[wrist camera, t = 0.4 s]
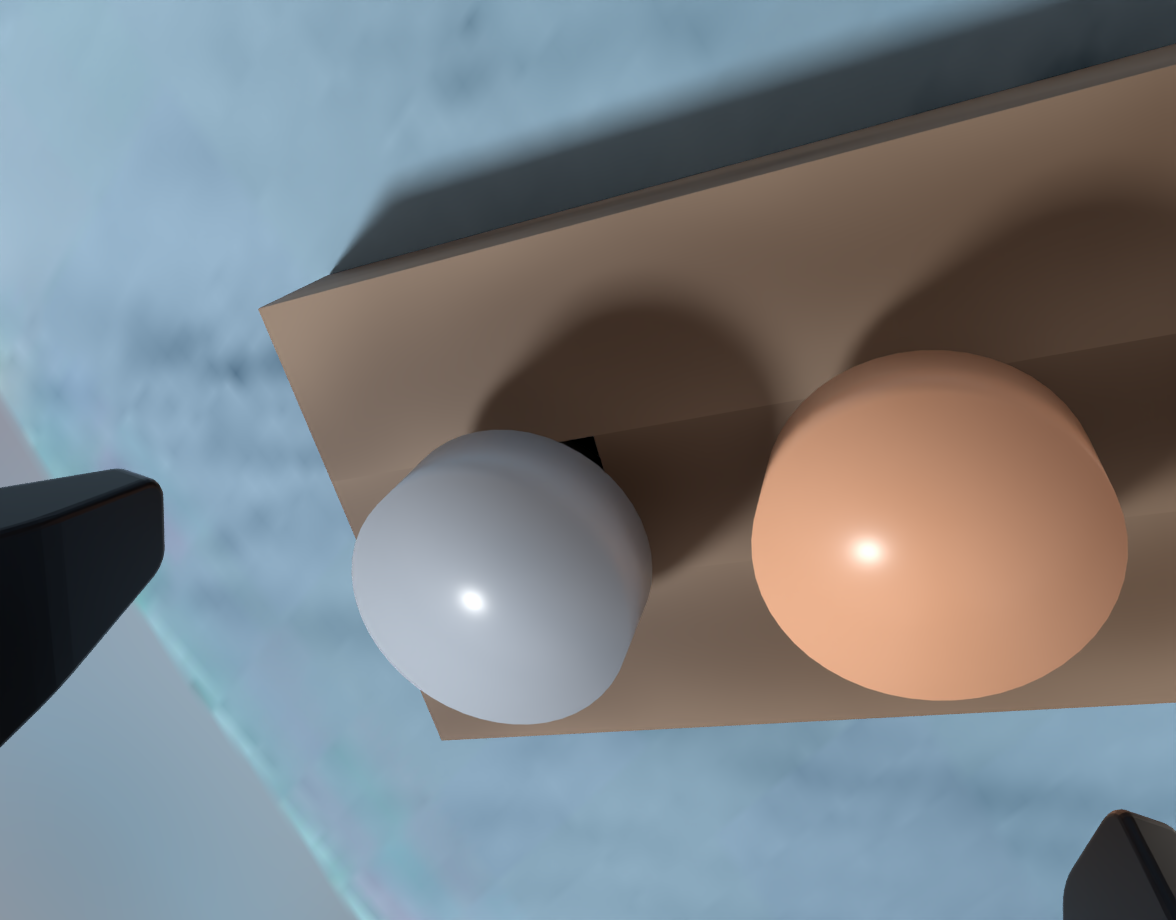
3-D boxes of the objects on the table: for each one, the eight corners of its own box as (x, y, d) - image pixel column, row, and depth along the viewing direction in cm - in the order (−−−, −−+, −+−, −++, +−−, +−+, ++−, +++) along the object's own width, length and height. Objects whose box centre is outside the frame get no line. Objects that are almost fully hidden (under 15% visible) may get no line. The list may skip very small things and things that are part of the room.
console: (1675, 574, 18) (1809, 669, 15) (483, 670, 27) (441, 740, 25) (1768, -119, 14) (1974, -148, 11) (327, 275, 23) (258, 308, 21)
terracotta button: (1083, 535, 19) (1142, 689, 15) (808, 566, 21) (789, 709, 17) (1052, 271, 17) (1110, 359, 13) (753, 333, 19) (716, 427, 15)
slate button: (706, 577, 22) (663, 716, 18) (495, 601, 24) (411, 731, 20) (643, 355, 20) (578, 451, 16) (420, 401, 22) (308, 496, 18)
